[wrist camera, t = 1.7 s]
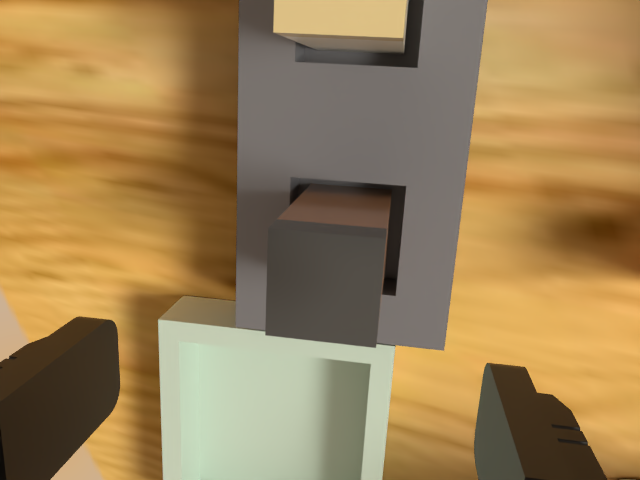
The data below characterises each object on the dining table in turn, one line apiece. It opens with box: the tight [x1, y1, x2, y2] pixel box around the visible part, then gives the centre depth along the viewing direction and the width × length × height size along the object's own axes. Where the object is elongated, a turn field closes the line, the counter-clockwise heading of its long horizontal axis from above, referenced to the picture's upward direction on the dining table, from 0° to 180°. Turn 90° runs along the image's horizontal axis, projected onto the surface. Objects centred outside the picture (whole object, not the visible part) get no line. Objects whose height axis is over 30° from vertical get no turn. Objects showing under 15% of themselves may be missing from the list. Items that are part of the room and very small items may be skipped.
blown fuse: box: [265, 183, 392, 348], centre depth 21 cm, size 4×4×8 cm
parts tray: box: [158, 295, 395, 480], centre depth 28 cm, size 12×11×3 cm
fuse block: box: [236, 0, 488, 350], centre depth 23 cm, size 18×9×4 cm, turn 177°
